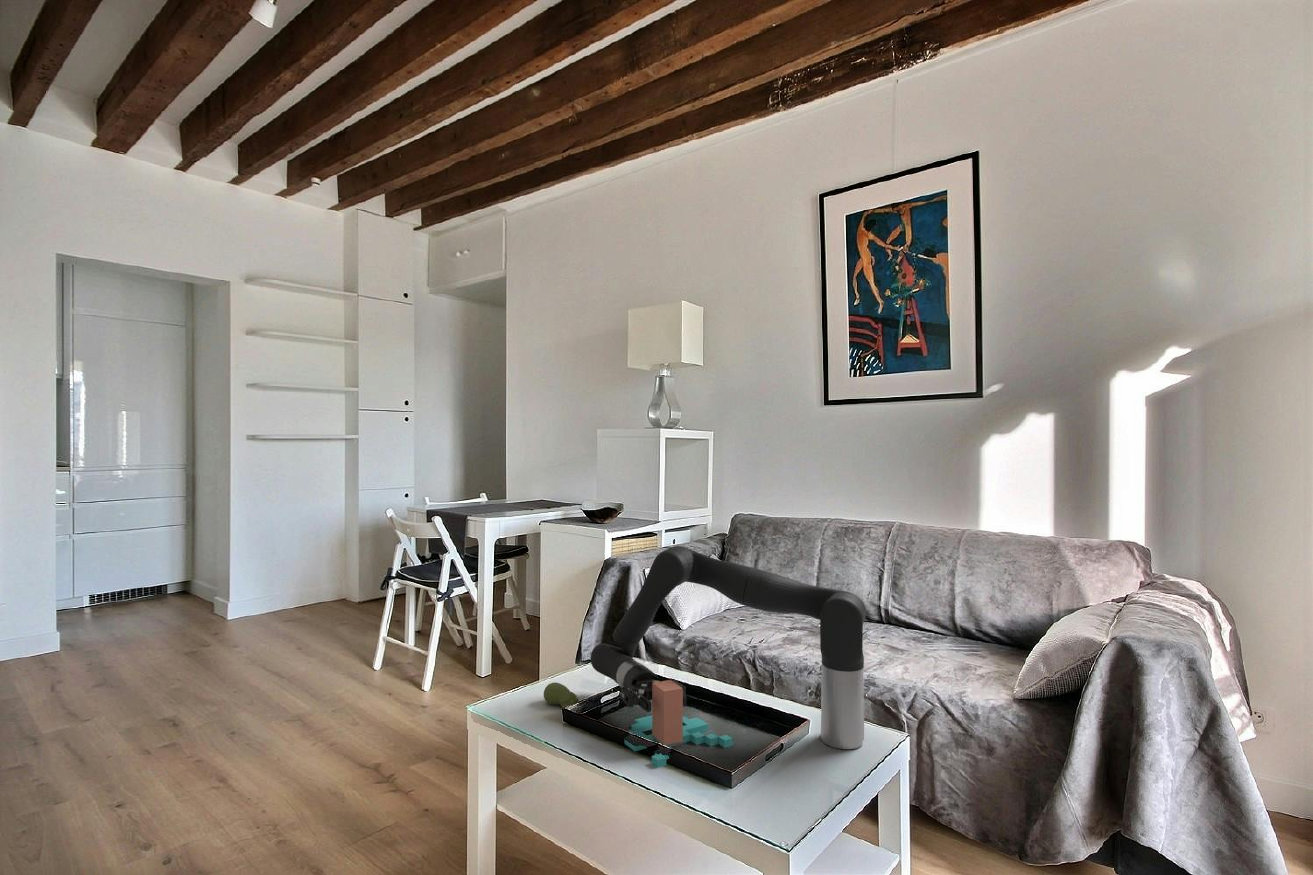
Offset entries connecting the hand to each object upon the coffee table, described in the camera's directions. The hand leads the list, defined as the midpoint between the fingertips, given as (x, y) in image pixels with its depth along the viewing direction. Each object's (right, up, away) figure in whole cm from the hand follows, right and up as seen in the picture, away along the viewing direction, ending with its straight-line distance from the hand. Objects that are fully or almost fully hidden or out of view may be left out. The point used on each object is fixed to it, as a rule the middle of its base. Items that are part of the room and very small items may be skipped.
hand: (667, 704), depth 153 cm
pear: (-27, -10, +24) cm, 37 cm away
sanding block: (0, -8, +1) cm, 8 cm away
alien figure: (+1, -11, +5) cm, 12 cm away
